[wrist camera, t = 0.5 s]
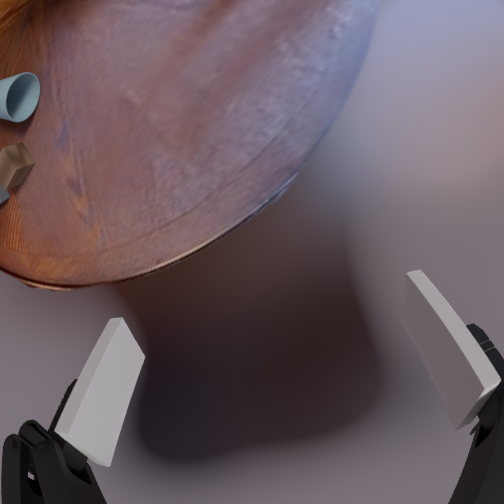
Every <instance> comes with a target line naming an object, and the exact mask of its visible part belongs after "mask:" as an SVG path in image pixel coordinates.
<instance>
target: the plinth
mask: <svg viewBox="0 0 504 504" xmlns="http://www.w3.org/2000/svg"><path fill="white" fill-rule="evenodd" d="M8 198H10V195H9V192H8V190H6V191H5V190H4V189H3V187H2V186H1V184H0V205H1V204H2V203H3V202H5V201H6V200H7V199H8Z"/></svg>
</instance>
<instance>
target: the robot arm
mask: <svg viewBox="0 0 504 504" xmlns="http://www.w3.org/2000/svg"><path fill="white" fill-rule="evenodd" d="M400 321H401V322H402V324H403V326H404V327H405V329H406V331H407V333H408V335H409V336H410V338H411V340H412V342H413V344H414V345H415V347H416V349H417V351H418V353H419V355H420V357H421V359H422V361H423V362H424V365H425V367H426V368H427V370H428V372H429V374H430V376H431V378H432V380H433V382H434V385H435V387H436V389H437V391H438V392H439V395H440V397H441V399H442V401H443V404H444V406H445V408H446V410H447V413H448V415H449V417H450V419H451V422H452V424H453V426H454V429H455V430H457V429H460V428H461V427H464V426H466V425H468V424H470V423H471V422H472V421H473V419H474V418H475V417H476V416H477V415H478V418H479V420H480V421H479V422H478V423H477V424H476V426H475V427H474V428H473V429H472V431H471V433H470V435H472V434H473V433H474V432H475V431H476V432H475V435H474V438H473V442H472V445H471V448H470V451H469V454H468V457H467V460H466V463H465V466H464V468H463V471H462V473H461V476H460V478H459V481H458V483H457V486H456V488H455V490H454V493H453V495H452V497H451V499H450V501H449V503H448V504H504V359H503V358H502V356H501V355H500V353H499V352H498V350H497V349H496V348H495V347H494V345H493V343H492V342H491V341H489V338H488V336H487V335H486V334H485V332H484V331H483V330H482V329H481V328H479V327H478V326H476V325H475V324H470V325H467V326H465V325H464V323H463V322H462V320H461V319H460V318H459V317H458V315H457V314H456V313H455V311H454V310H453V309H452V307H451V306H450V305H449V304H448V302H447V301H446V300H445V298H444V297H443V296H442V295H441V294H440V292H439V291H438V290H437V289H436V288H435V286H434V285H433V284H432V283H431V281H430V280H429V279H428V278H427V277H426V276H425V274H424V273H423V272H422V271H421V270H416V271H412V272H408V273H406V280H405V288H404V296H403V304H402V310H401V316H400ZM144 359H145V356H144V354H143V352H142V351H141V349H140V347H139V346H138V344H137V342H136V341H135V339H134V337H133V335H132V334H131V332H130V330H129V328H128V326H127V325H126V323H125V321H124V319H123V318H111V319H110V320H109V322H108V323H107V325H106V327H105V329H104V331H103V332H102V334H101V336H100V338H99V340H98V341H97V343H96V345H95V347H94V349H93V351H92V353H91V355H90V356H89V358H88V361H87V362H86V364H85V366H84V368H83V370H82V372H81V374H80V376H79V378H78V379H75V380H74V381H73V382H72V383H71V385H70V386H69V387H68V389H67V391H66V393H65V395H64V398H63V399H62V401H61V405H59V407H58V410H57V412H56V414H55V416H54V418H53V421H52V423H51V425H50V428H49V430H48V431H46V430H45V429H44V428H43V427H42V426H41V425H40V424H39V423H38V422H36V421H35V420H28V421H26V422H25V423H24V424H23V425H22V426H21V427H20V430H19V432H18V435H16V434H11V435H10V436H8V437H7V438H6V440H5V442H4V446H3V454H2V475H1V476H2V477H1V479H2V480H1V482H2V483H1V493H2V494H1V495H2V504H107V503H106V501H105V499H104V497H103V495H102V493H101V490H100V488H99V486H98V484H97V482H96V479H95V477H94V475H93V472H92V470H91V467H90V466H89V464H88V463H87V462H86V461H87V458H89V459H90V460H92V461H93V462H94V463H96V464H100V465H104V466H108V467H110V464H111V461H112V457H113V454H114V450H115V447H116V443H117V440H118V437H119V433H120V430H121V427H122V424H123V421H124V417H125V414H126V411H127V408H128V405H129V402H130V399H131V396H132V393H133V390H134V387H135V384H136V381H137V378H138V375H139V373H140V370H141V367H142V364H143V361H144ZM28 472H30V473H31V474H33V475H34V480H32V479H30V478H29V477H28Z"/></svg>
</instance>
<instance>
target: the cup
mask: <svg viewBox="0 0 504 504" xmlns="http://www.w3.org/2000/svg"><path fill="white" fill-rule="evenodd" d="M39 96H40V83H39V80H38V78H37V77H36V75H34V74H33V73H30V72H25V73H21V74H18V75H15V76H12V77H9V78H6V79H3V80H0V118H1V119H5V120H9V121H13V122H22V121H24V120H26V119H27V118H28V117H29V116H30V115H31V114H32V113H33V111H34V110H35V108H36V106H37V103H38V101H39Z"/></svg>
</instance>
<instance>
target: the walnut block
mask: <svg viewBox="0 0 504 504" xmlns="http://www.w3.org/2000/svg"><path fill="white" fill-rule="evenodd" d="M35 163H36V162H35V161H34V159H33V158H32V156H31V155H30V153H29V152H28V150H27V149H26V147H25V146H24V144H23V143H22V142H21V143H17V144H13V145H10V146H6V147H3V148H2V150H1V152H0V184H1V186H2V187H3V189H4V190H5V191H6V190H9V189H11V188H13V187H15V186H17V185H19V184H21V183H23V182H24V180H25V179H26V177H27V175H28V174H29V172H30V170H31V169H32V167H33V166H34V164H35Z"/></svg>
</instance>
